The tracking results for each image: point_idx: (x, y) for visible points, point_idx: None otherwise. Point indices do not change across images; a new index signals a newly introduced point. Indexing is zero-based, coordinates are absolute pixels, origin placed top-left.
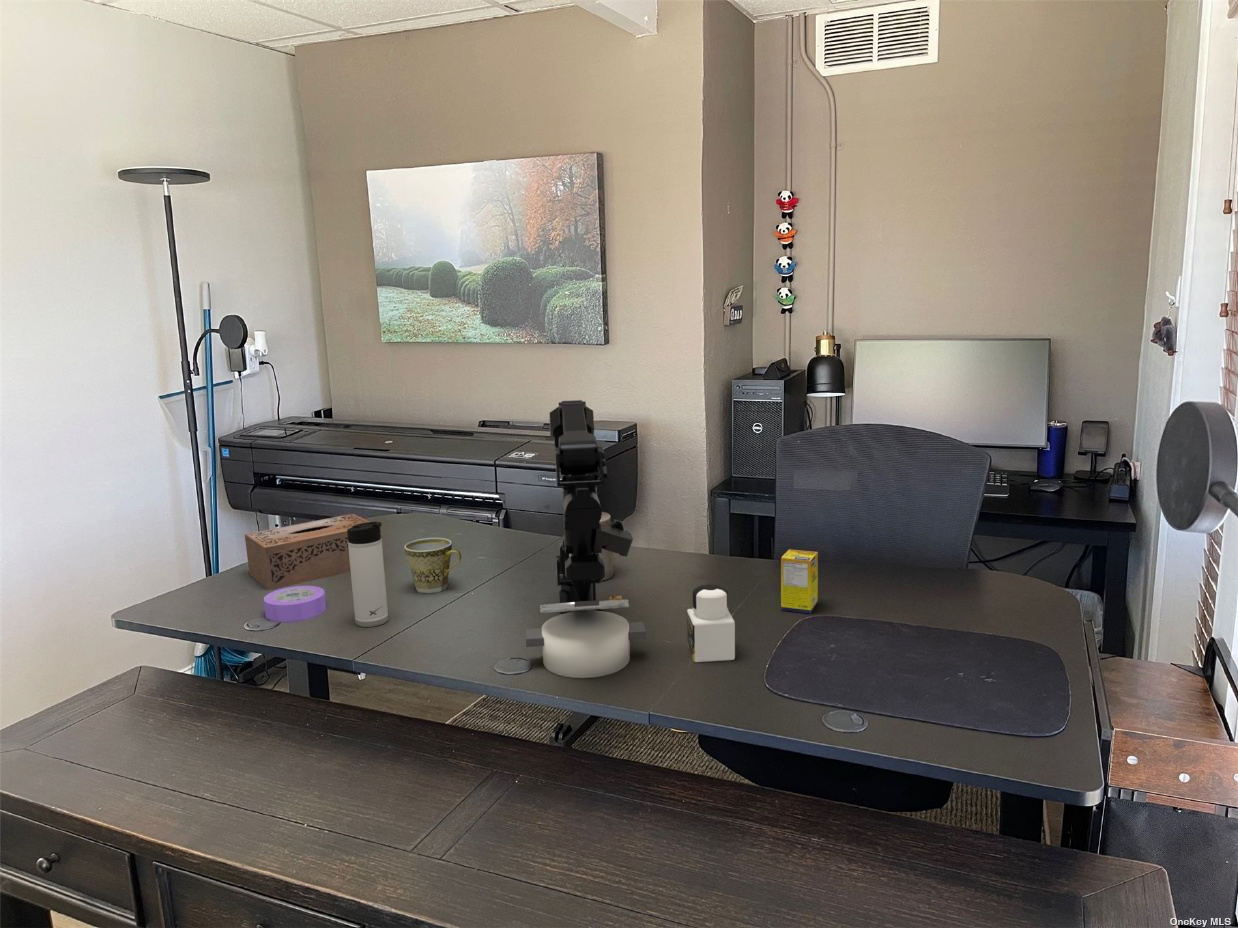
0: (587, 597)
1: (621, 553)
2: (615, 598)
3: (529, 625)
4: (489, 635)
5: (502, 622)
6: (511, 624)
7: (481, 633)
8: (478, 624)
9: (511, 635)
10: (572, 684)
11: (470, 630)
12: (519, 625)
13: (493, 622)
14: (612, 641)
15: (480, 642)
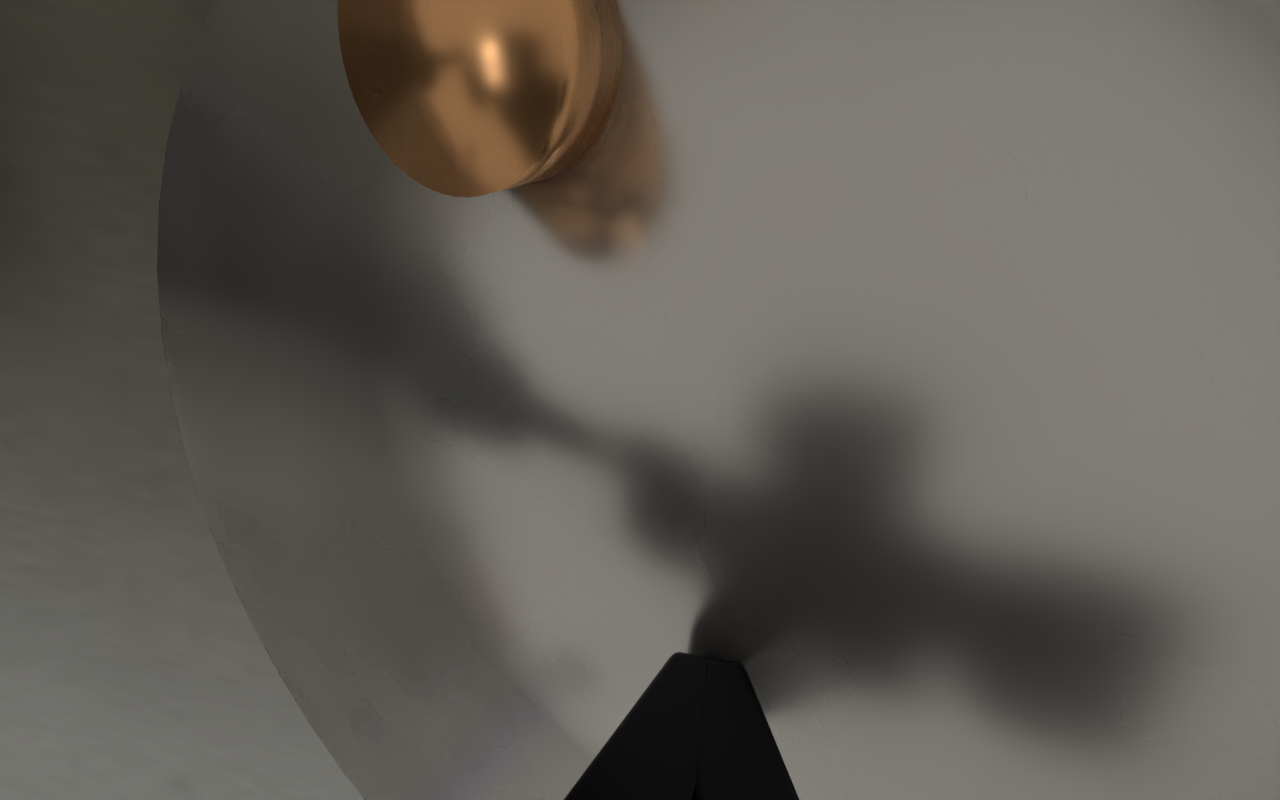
0: (767, 738)
1: None
2: (596, 78)
3: (99, 528)
4: (251, 732)
5: (64, 644)
6: (91, 611)
7: (223, 755)
8: (102, 742)
9: (256, 643)
10: None
11: (183, 785)
12: (103, 577)
13: (68, 681)
14: None
15: (344, 782)
